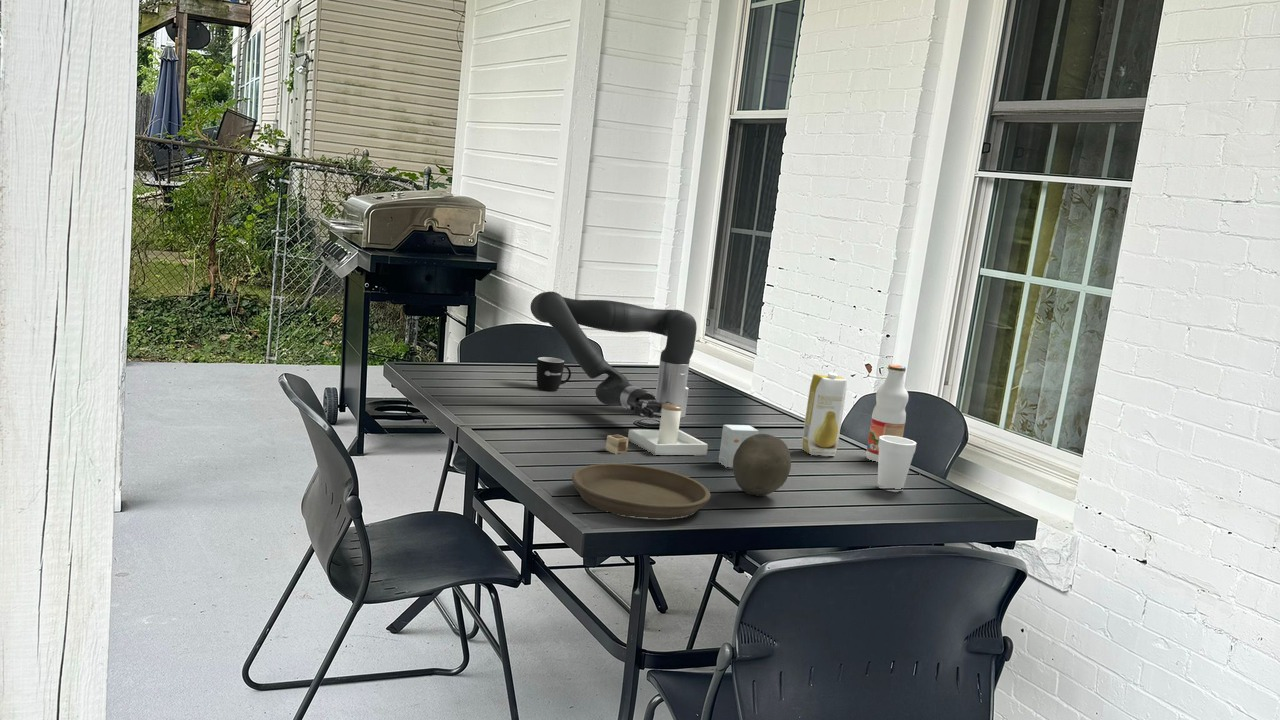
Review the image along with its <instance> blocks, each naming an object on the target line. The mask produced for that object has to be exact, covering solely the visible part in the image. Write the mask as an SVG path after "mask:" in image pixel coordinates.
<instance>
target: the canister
mask: <svg viewBox="0 0 1280 720" xmlns="http://www.w3.org/2000/svg"><path fill="white" fill-rule="evenodd" d="M681 410H682V406H680V405H676V404H669V403H665V404H662V413H661V417H660V421H659V422H660V423H659V429H658V430H659V437H658V444H677V438H678V430H680V429H679V428H680V420H681V418H680V415H681Z"/></svg>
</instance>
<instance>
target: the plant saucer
mask: <svg viewBox="0 0 1280 720" xmlns="http://www.w3.org/2000/svg"><path fill="white" fill-rule="evenodd" d="M571 480H572V483H573V486H574V489H575V490H576V491H577V492H579V495H580V497H581V499H582V500H583V501H584V502H585V503H587V504H588V505H590V506H591V507H593V506H594V507H593V508H595V507H596V509H597V508H598V509H597V510H600V509H601V511H602V510H604V511H603V512H605V511H608V512H611V513H615V514H619V515H625V516H635V517H648V518H672V517H673V518H674V517H681V516H686V515H690V514H692V513H694V512H696V511H699V510H701V509H702V508H703V507H704V506H705V505H706V504H707V503H708V502H709V500H710V499H711V493H710V492H711V491H710V490H709V489H708V488H707V487H706V486H705V485H704V484H702V483H701V482H699V481H697V480H695V479H693V478H691V477H688V476H686V475H683V474H681V473H677V472H674V471H670V470H667V469H663V468H662V469H661V468H659V467H653V466H646V465H641V464H630V463H599V464H598V463H597V464H590V465H585V466H582V467H580V468H578V469H576V470H575V471H574V472H573V473H572V475H571ZM608 512H607V513H608ZM611 513H610V514H611ZM696 513H697V512H696ZM615 514H614V515H615ZM619 515H618V516H619Z"/></svg>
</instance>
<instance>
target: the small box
mask: <svg viewBox="0 0 1280 720" xmlns="http://www.w3.org/2000/svg"><path fill="white" fill-rule="evenodd" d="M759 433H760V432H759V430H758V429H756V428H755V427H753V426H751V425H748V424H747V425H746V424H723V426H722V432H721V439H720V440H721V441H720V449H719V456H718V463H719V464H720V463H721V464H720V465H722V466H723V465H724V466H725V468H726V467H733V459H734V455H735V453H736V451H737V449H738V448H739V446H740V445H741V443H742V442H743V441H744V440H745V439H747V438H748V437H750V436H753V435H756V434H759ZM724 466H723V467H724Z"/></svg>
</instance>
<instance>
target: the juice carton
mask: <svg viewBox="0 0 1280 720" xmlns="http://www.w3.org/2000/svg"><path fill="white" fill-rule="evenodd" d="M846 394H847V379H846V378H843V377H841V376H840V375H839V376H838V374H837V373H835V372H828V374H827V375H824V374H819V373H813V375H812V378H811V383H810V385H809V392H808V397H807V406H806V409H805V410H806V413H805V417H804V425H803V430H802V431H803V432H802V440H801V449H802V451H803V450H804V451H803V452H805V451H806V452H807V454H808V453H809V454H811V455H810V456H812V455H827V456H826V457H828V456H834V457H835V456H836V452H837V449H838V445H839V440H840V433H841V427H842V421H843V414H844V407H845V400H846ZM806 452H805V453H806ZM809 454H808V455H809Z"/></svg>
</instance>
